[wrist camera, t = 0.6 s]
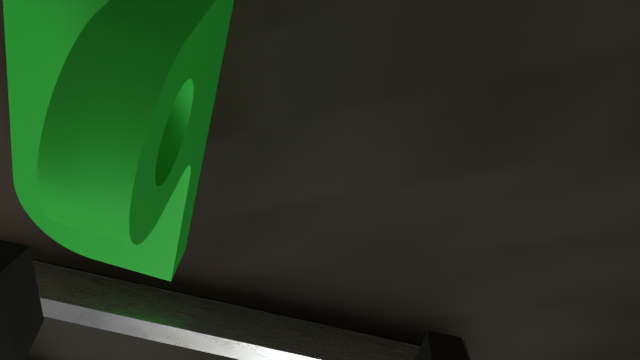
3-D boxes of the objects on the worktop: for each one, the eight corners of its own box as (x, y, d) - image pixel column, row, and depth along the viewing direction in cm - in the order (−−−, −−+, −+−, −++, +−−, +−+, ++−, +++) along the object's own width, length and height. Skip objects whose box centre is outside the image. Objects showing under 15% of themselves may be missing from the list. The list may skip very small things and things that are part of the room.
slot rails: (445, 369, 27) (446, 405, 26) (8, 272, 27) (-15, 303, 25) (704, -120, 14) (736, -103, 13) (-115, -308, 14) (-174, -311, 13)
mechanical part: (37, -104, 17) (-191, 0, 11) (242, -37, 17) (141, 102, 11) (42, 203, 24) (-90, 372, 18) (186, 246, 25) (107, 426, 18)
